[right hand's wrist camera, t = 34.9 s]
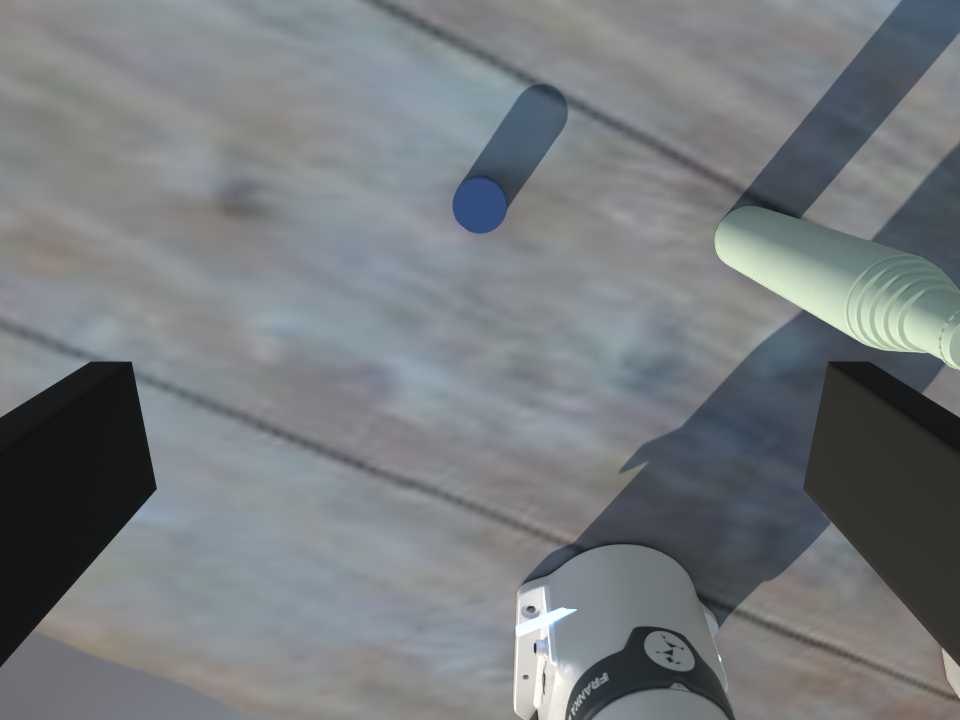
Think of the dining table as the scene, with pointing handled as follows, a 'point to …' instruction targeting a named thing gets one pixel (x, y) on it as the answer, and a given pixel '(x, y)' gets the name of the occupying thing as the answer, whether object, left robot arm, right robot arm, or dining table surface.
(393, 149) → the dining table surface
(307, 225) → the dining table surface
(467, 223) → the cap
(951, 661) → the wall clock
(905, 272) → the bottle
